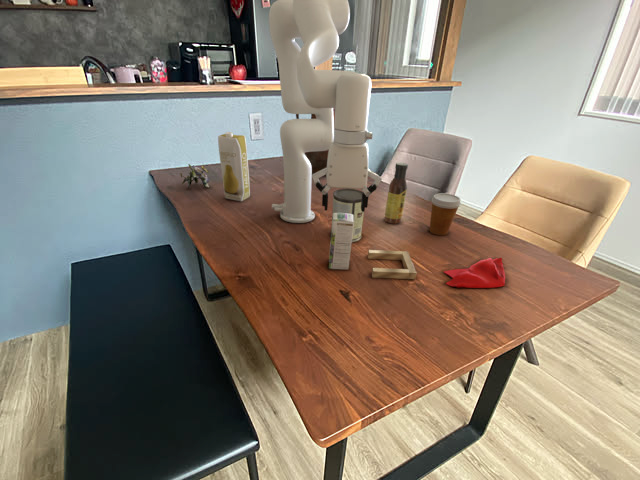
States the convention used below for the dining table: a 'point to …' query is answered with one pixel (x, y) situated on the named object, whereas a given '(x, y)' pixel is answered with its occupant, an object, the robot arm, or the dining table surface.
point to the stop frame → (404, 273)
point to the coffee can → (349, 208)
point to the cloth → (479, 275)
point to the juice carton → (234, 166)
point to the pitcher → (317, 153)
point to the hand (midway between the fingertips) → (344, 209)
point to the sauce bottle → (396, 195)
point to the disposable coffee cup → (443, 212)
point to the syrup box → (341, 240)
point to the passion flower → (197, 176)
